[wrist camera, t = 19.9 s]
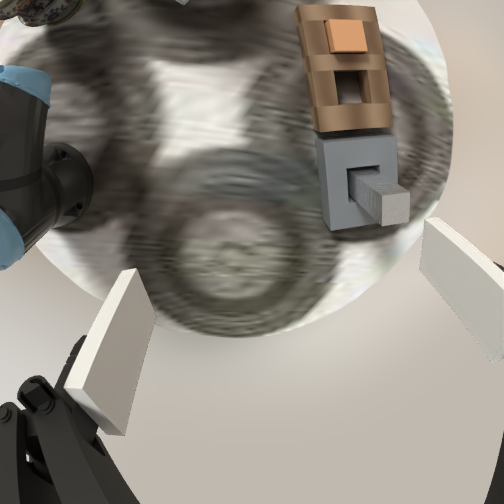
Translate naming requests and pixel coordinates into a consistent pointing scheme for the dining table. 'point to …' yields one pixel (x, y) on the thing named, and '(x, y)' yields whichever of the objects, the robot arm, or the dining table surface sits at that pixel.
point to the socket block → (343, 70)
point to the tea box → (182, 1)
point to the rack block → (335, 174)
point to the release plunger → (345, 36)
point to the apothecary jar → (39, 11)
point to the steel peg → (379, 195)
